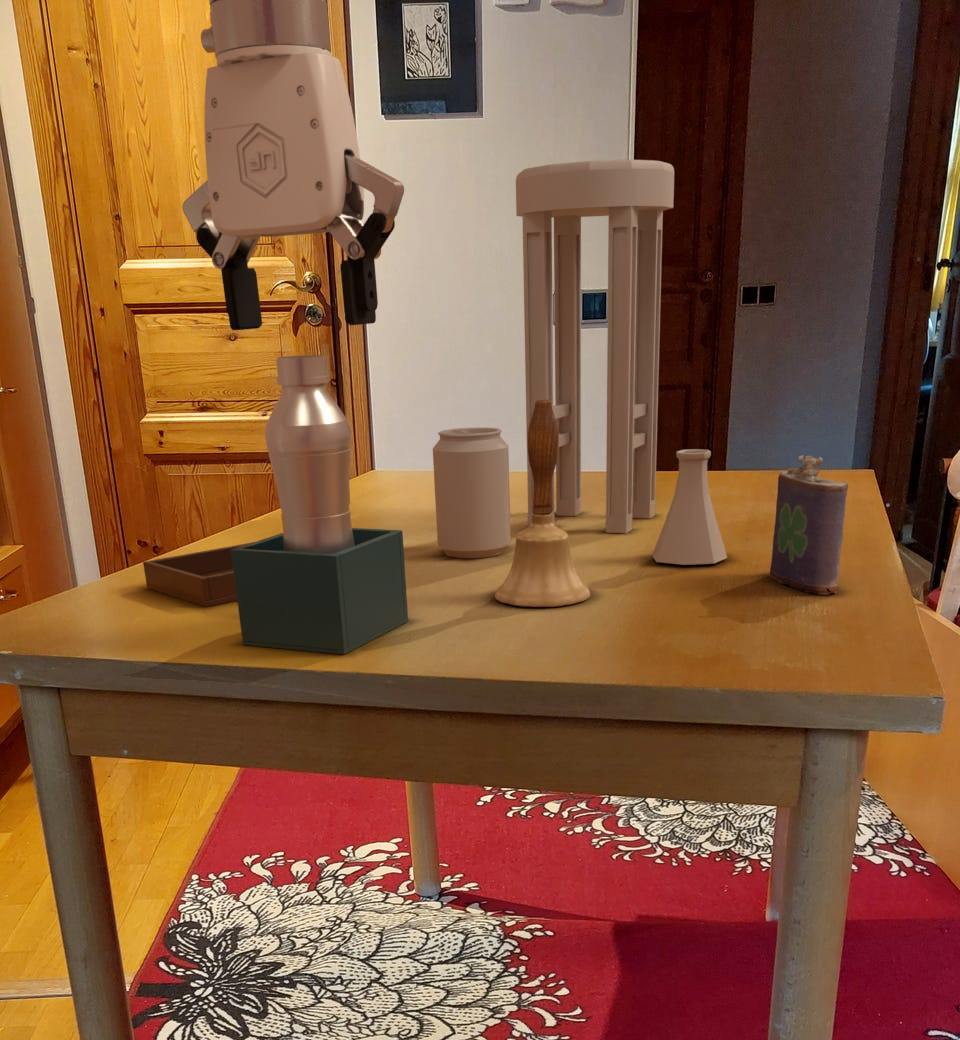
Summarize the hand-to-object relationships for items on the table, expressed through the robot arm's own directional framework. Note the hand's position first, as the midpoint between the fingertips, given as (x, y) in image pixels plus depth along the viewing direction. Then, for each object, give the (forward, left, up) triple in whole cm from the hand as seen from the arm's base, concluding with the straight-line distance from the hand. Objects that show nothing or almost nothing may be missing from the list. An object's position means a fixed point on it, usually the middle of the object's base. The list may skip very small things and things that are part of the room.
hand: (302, 326), depth 84 cm
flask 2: (+26, -32, -23) cm, 47 cm away
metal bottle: (0, 0, -22) cm, 22 cm away
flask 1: (+34, -20, -23) cm, 45 cm away
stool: (+51, -4, -23) cm, 56 cm away
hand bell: (+16, -12, -23) cm, 30 cm away
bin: (0, 0, -22) cm, 22 cm away
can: (+32, +2, -23) cm, 39 cm away
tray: (+14, +17, -22) cm, 31 cm away
